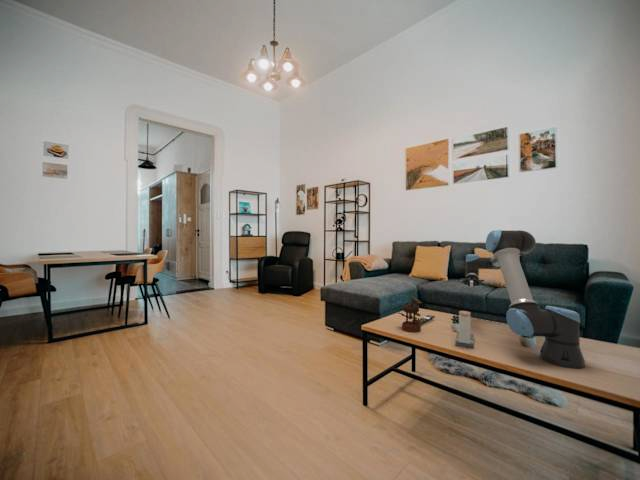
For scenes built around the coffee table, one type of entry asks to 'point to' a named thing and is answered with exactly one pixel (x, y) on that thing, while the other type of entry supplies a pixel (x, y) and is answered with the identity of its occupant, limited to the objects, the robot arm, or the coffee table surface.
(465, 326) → the grey tall cylinder
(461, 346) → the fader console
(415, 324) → the music box
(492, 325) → the coffee table surface
